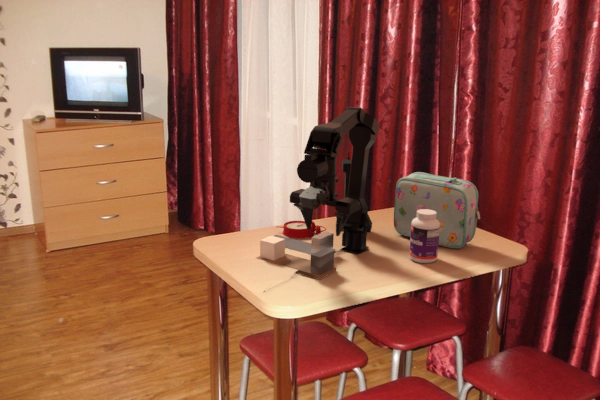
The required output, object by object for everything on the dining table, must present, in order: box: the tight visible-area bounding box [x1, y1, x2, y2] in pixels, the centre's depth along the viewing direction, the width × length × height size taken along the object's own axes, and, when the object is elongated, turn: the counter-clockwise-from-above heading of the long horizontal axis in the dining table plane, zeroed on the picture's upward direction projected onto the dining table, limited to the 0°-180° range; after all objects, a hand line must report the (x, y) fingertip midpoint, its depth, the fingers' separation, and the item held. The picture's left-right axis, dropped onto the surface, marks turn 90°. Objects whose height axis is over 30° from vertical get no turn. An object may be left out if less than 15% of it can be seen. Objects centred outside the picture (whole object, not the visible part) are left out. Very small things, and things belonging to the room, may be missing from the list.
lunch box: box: [393, 171, 481, 249], centre depth 197 cm, size 27×10×21 cm, turn 50°
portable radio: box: [341, 151, 352, 199], centre depth 207 cm, size 8×6×25 cm
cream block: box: [259, 235, 286, 260], centre depth 180 cm, size 5×5×5 cm
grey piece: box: [273, 230, 336, 255], centre depth 189 cm, size 22×8×6 cm, turn 54°
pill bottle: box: [408, 209, 440, 264], centre depth 181 cm, size 8×8×14 cm
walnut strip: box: [255, 248, 337, 280], centre depth 175 cm, size 22×8×6 cm, turn 55°
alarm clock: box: [276, 220, 327, 239], centre depth 201 cm, size 10×6×15 cm
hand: (323, 232), depth 168 cm, fingers open, 9 cm apart
